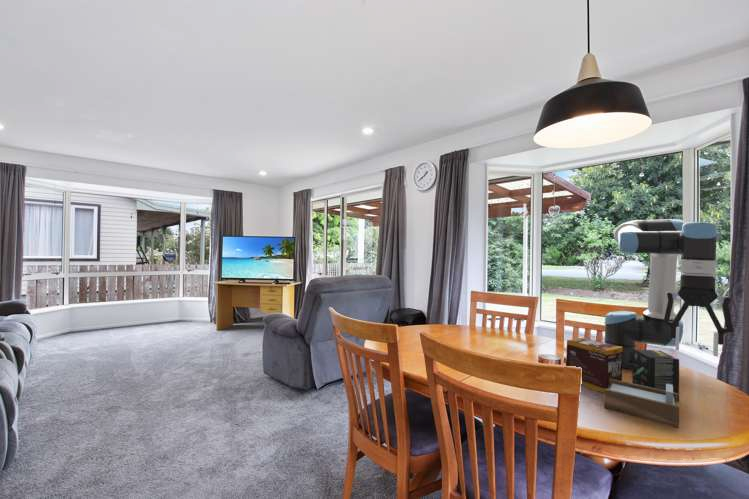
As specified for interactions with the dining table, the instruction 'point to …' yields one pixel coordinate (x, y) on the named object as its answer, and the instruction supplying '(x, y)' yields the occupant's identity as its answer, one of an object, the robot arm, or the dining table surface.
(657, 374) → the tampon box
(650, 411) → the grooved box
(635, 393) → the cover plate
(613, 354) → the supplement box
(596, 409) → the dining table surface
